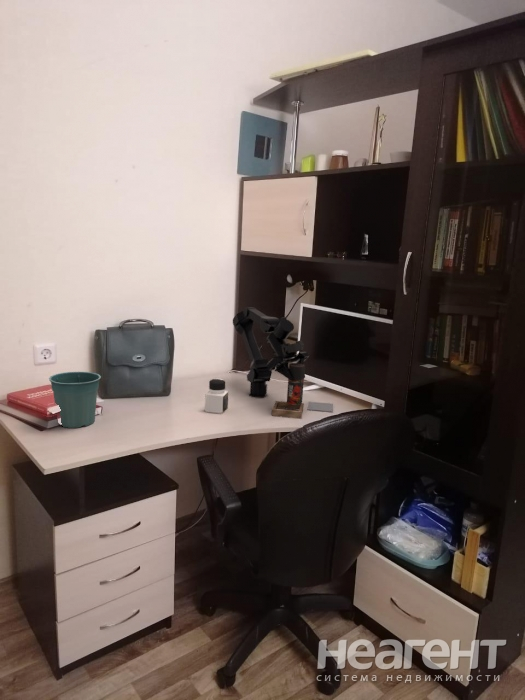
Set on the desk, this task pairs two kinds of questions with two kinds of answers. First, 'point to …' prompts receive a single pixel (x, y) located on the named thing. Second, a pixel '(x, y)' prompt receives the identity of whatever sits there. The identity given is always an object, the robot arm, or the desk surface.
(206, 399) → the medicine bottle
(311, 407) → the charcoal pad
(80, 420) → the flower pot
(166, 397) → the desk surface
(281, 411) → the walnut collar
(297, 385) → the deodorant
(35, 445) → the desk surface
